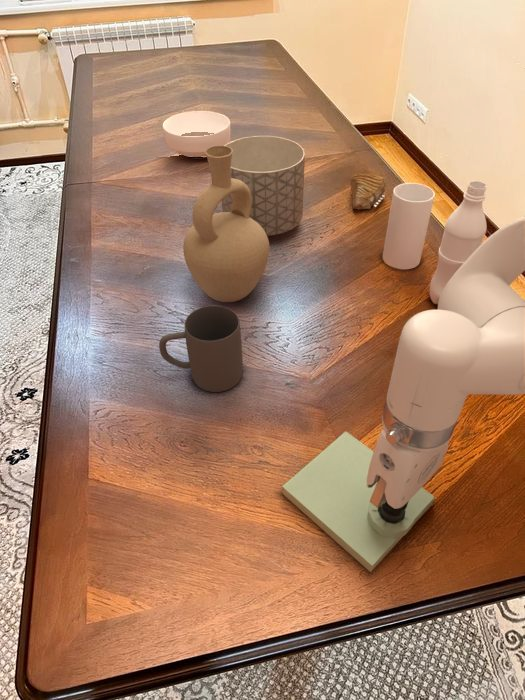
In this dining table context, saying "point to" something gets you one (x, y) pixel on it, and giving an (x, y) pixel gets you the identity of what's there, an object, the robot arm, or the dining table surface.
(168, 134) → the bowl
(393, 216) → the cup
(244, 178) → the planter
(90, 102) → the dining table surface
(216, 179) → the vase
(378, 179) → the fossil
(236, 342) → the mug
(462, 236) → the water bottle
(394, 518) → the button
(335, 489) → the scale
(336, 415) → the dining table surface
